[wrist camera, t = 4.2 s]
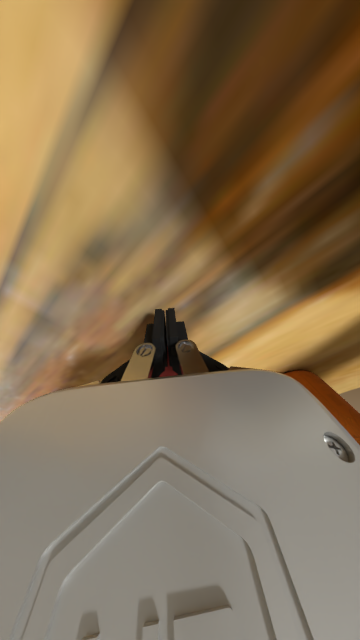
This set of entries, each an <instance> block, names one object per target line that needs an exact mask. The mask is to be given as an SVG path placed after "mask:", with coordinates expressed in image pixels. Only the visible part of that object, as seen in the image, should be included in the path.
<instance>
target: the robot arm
mask: <svg viewBox="0 0 360 640" xmlns="http://www.w3.org/2000/svg"><path fill="white" fill-rule="evenodd" d="M167 347H168V356H169V365H170V367H171V366H172V370H173V371H174V372H176V373H177V375H176V376H166V377H160V375H161V374H162V373H163V372H164V371H165V367H168V363H167ZM0 640H360V445H359V444H358V443H357V442H356V441H355V439H354V438H353V437H352V436H351V435H350V434H349V433H348V431H347V430H346V429H345V428H344V427H343V426H342V425H341V424H340V423H339V422H338V421H337V419H336V418H335V417H334V416H333V415H332V414H331V413H330V412H329V411H328V410H327V409H326V408H325V406H324V405H323V404H322V403H321V402H320V401H319V400H318V399H317V398H316V397H315V396H314V395H313V394H312V393H311V392H310V391H308V390H307V389H306V388H305V387H304V386H303V385H302V384H300V383H299V382H298V381H296V380H295V379H293V378H291V377H289V376H287V375H284V374H281V373H278V372H273V371H269V370H261V369H251V368H241V367H230V368H227V367H226V366H225V365H223V364H221V363H220V362H218V361H216V360H214V359H212V358H210V357H209V356H207V355H205V354H203V353H201V352H199V350H198V348H197V346H196V344H195V343H194V342H193V341H191V340H188V338H187V333H186V329H185V324H184V321H183V322H176V318H175V311H174V308H168V310H166V324H165V314H164V310H162V309H155V317H154V324H147V328H146V334H145V339H144V343H143V344H140V345H139V346H137V347H136V349H135V350H134V352H133V355H132V357H131V359H130V360H129V361H127V362H126V363H124V364H123V365H122V366H120V367H119V368H117V369H116V370H115V371H113V372H112V373H111V374H109V375H108V376H106V377H105V378H104V379H103V380H102V381H99V380H97V381H94V382H91V383H87V384H84V385H81V386H77V387H73V388H67V389H63V390H59V391H55V392H52V393H49V394H45V395H43V396H40V397H38V398H35V399H33V400H31V401H29V402H27V403H25V404H23V405H21V406H19V407H18V408H16V409H15V410H13V411H12V412H11V413H10V414H8V415H7V416H6V417H5V418H4V419H3V420H2V421H1V422H0Z"/></svg>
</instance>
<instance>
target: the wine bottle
mask: <svg viewBox="0 0 360 640" xmlns="http://www.w3.org/2000/svg"><path fill="white" fill-rule="evenodd" d="M284 375H287V376H289V377H291V378H293V379H295V380H296V381H298V382H299V383H300V384H302V385H303V386H304V387H305V388H306V389H307V390H308V391H310V392H311V393H312V394H313V395H314V396H315V397H316V398H317V399H318V400H319V401H320V402H321V403H322V404H323V405H324V406H325V408H326V409H327V410H328V411H329V412H330V413H331V414H332V415H333V416H334V417H335V418H336V419H337V421H338V422H339V423H340V424H341V425H342V426H343V427H344V428H345V429H346V430H347V431H348V433H349V434H350V435H351V436H352V437H353V438H354V439H355V441H356V442H357V443H358V444H359V445H360V413H358V412H357V411H356V410H355V409H354V408H353V407H352V406H351V405H350V404H349V403H348V402H346V401H345V400H344V399H343V398H342V397H341V396H340V395H339V394H338V393H336V392H335V391H334V390H333V389H332V388H331V387H330V386H329V385H328V384H326V383H325V382H324V381H323V380H322V379H321V378H319V377H318V376H317V375H315V374H314V373H312V372H309V371H292V372H288V373H284Z"/></svg>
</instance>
